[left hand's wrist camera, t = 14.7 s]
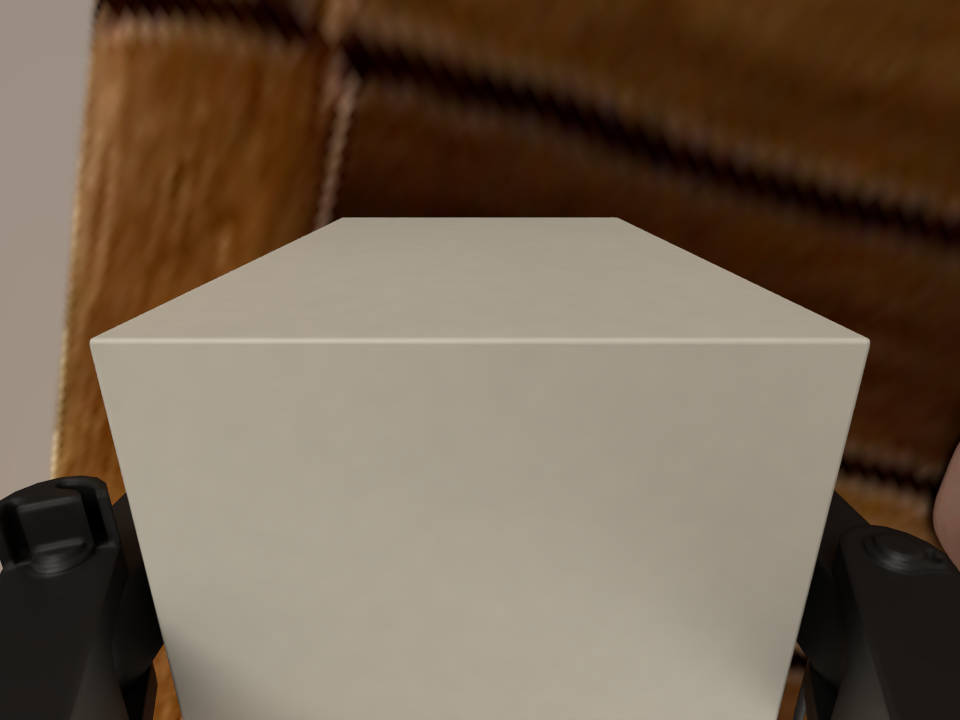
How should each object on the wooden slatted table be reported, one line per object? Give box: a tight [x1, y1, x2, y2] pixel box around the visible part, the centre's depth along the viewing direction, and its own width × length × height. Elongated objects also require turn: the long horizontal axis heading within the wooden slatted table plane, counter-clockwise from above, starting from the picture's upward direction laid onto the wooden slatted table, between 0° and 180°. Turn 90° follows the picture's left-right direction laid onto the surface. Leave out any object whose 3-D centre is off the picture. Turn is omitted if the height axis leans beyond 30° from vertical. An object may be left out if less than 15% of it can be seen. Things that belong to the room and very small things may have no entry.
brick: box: [90, 218, 870, 720], centre depth 12 cm, size 8×8×11 cm
